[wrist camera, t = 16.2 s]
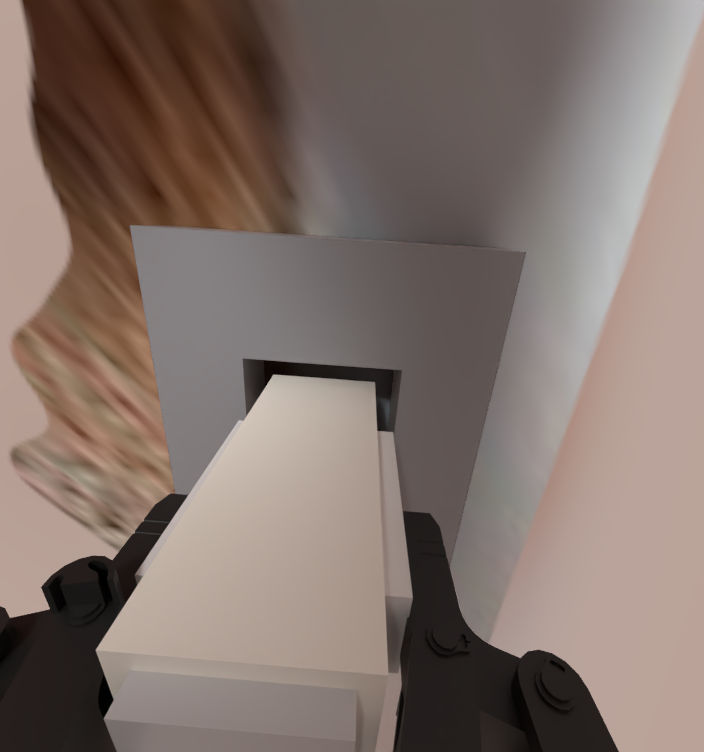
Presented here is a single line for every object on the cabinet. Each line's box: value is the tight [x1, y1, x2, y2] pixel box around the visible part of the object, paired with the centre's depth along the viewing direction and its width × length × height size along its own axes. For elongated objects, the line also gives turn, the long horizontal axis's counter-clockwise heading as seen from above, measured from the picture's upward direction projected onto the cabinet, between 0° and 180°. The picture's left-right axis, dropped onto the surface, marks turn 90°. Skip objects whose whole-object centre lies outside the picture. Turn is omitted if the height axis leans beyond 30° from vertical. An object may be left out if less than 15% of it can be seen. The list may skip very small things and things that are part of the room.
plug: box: [96, 375, 388, 752], centre depth 11 cm, size 4×4×12 cm
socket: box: [130, 225, 526, 567], centre depth 18 cm, size 20×14×3 cm
